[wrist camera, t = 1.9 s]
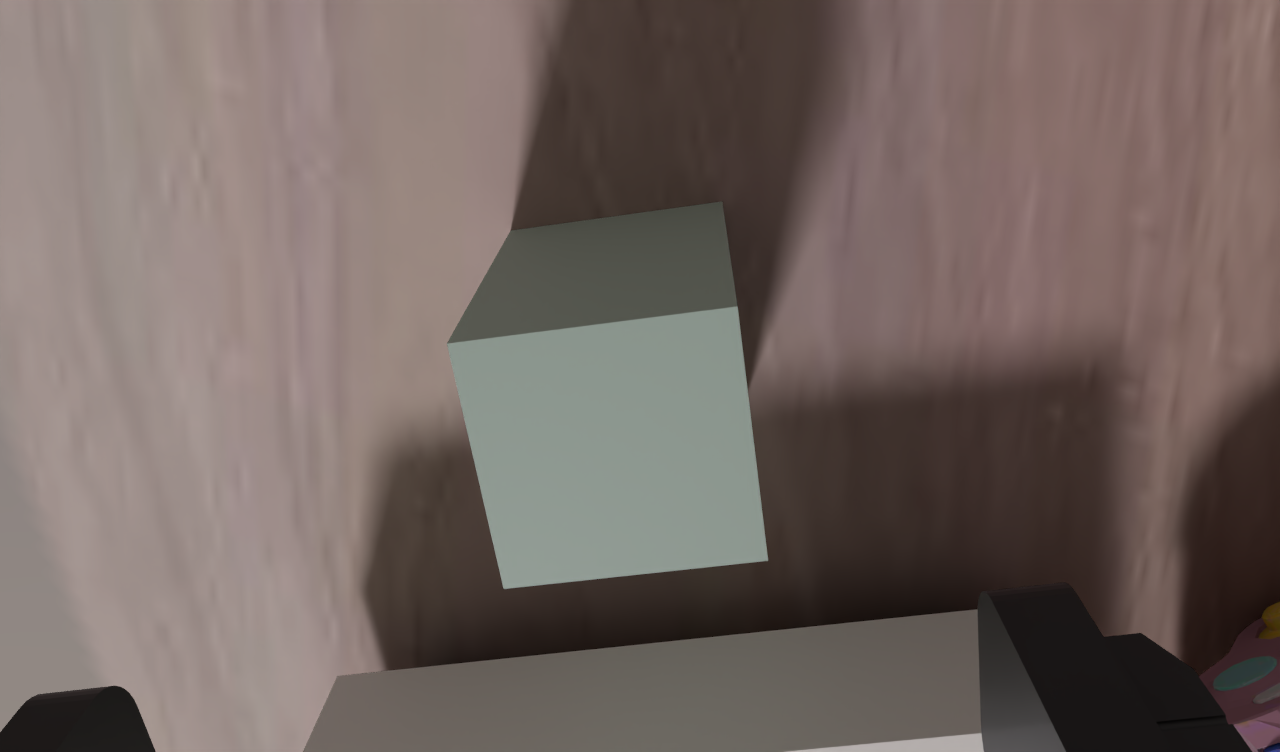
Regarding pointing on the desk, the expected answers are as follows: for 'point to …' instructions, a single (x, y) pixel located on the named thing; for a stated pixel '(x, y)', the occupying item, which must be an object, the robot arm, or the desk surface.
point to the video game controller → (1251, 682)
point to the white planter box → (684, 696)
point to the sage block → (611, 400)
